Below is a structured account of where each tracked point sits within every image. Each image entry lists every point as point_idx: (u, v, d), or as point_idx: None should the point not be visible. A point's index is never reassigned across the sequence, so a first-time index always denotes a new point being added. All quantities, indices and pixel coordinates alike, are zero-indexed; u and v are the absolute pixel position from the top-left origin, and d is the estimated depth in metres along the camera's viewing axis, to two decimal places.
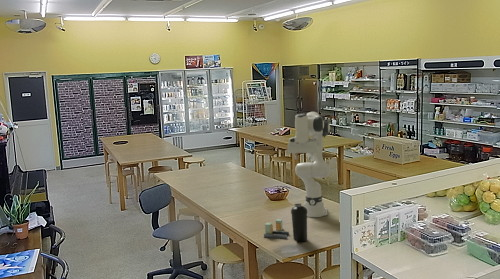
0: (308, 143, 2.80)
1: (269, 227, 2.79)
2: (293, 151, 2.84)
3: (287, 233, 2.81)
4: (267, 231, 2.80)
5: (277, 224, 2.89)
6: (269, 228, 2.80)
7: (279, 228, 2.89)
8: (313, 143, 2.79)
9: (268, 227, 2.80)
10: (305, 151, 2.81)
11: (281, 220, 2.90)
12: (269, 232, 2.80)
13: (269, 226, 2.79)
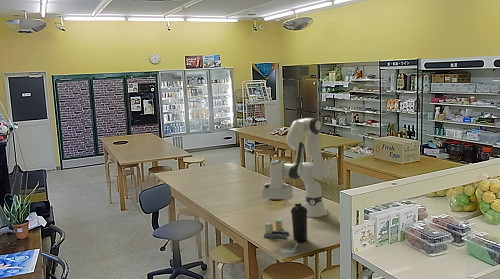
0: (282, 189, 2.84)
1: (269, 227, 2.79)
2: (268, 197, 2.88)
3: (287, 233, 2.81)
4: (267, 231, 2.80)
5: (277, 224, 2.89)
6: (269, 228, 2.80)
7: (279, 228, 2.89)
8: (287, 190, 2.83)
9: (268, 227, 2.80)
10: (279, 197, 2.86)
11: (281, 220, 2.90)
12: (269, 232, 2.80)
13: (269, 226, 2.79)
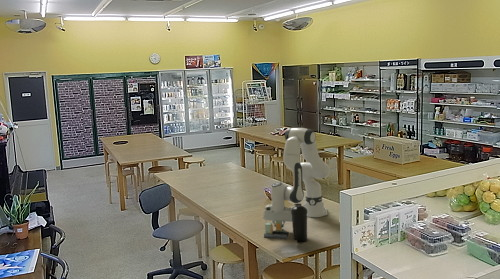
0: (283, 212, 2.86)
1: (269, 227, 2.79)
2: (269, 219, 2.90)
3: (287, 233, 2.81)
4: (267, 231, 2.80)
5: (277, 224, 2.89)
6: (269, 228, 2.80)
7: (279, 228, 2.89)
8: (288, 212, 2.85)
9: (268, 227, 2.80)
10: (280, 219, 2.88)
11: None
12: (269, 232, 2.80)
13: (269, 226, 2.79)
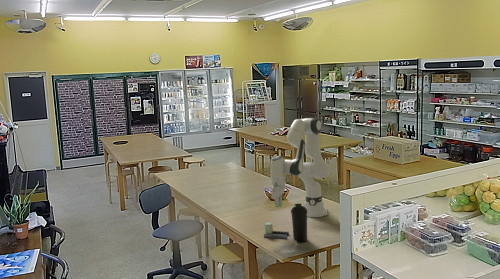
0: None
1: (269, 227, 2.79)
2: None
3: (287, 233, 2.81)
4: (267, 231, 2.80)
5: None
6: (269, 228, 2.80)
7: None
8: None
9: (268, 227, 2.80)
10: None
11: None
12: (269, 232, 2.80)
13: (269, 226, 2.79)
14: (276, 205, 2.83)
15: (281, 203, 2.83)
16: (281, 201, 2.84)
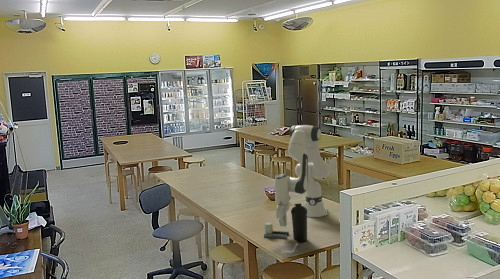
0: None
1: (269, 227, 2.79)
2: None
3: (287, 233, 2.81)
4: (267, 231, 2.80)
5: None
6: (269, 228, 2.80)
7: None
8: None
9: (268, 227, 2.80)
10: None
11: None
12: (269, 232, 2.80)
13: (269, 226, 2.79)
14: (281, 224, 2.76)
15: (286, 222, 2.77)
16: (286, 220, 2.77)
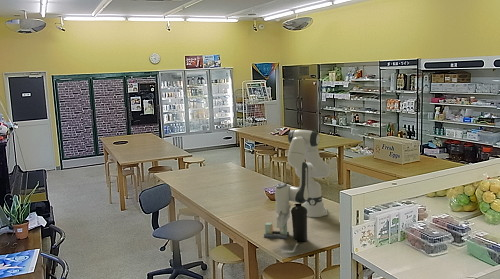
0: None
1: (269, 227, 2.79)
2: None
3: (287, 233, 2.81)
4: (267, 231, 2.80)
5: None
6: (269, 228, 2.80)
7: None
8: None
9: (268, 227, 2.80)
10: None
11: None
12: (269, 232, 2.80)
13: (269, 226, 2.79)
14: None
15: (286, 233, 2.79)
16: (286, 231, 2.79)
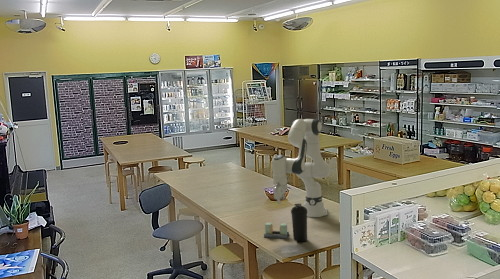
0: None
1: (269, 227, 2.79)
2: None
3: (287, 233, 2.81)
4: (267, 231, 2.80)
5: None
6: (269, 228, 2.80)
7: None
8: None
9: (268, 227, 2.80)
10: None
11: (282, 225, 2.76)
12: (269, 232, 2.80)
13: (269, 226, 2.79)
14: None
15: (286, 233, 2.79)
16: (286, 231, 2.79)
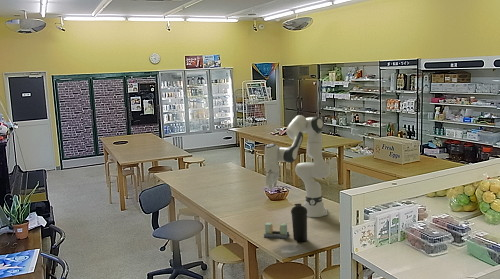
0: None
1: (269, 227, 2.79)
2: None
3: (287, 233, 2.81)
4: (267, 231, 2.80)
5: None
6: (269, 228, 2.80)
7: None
8: None
9: (268, 227, 2.80)
10: None
11: (282, 225, 2.76)
12: (269, 232, 2.80)
13: (269, 226, 2.79)
14: None
15: (286, 233, 2.79)
16: (286, 231, 2.79)
